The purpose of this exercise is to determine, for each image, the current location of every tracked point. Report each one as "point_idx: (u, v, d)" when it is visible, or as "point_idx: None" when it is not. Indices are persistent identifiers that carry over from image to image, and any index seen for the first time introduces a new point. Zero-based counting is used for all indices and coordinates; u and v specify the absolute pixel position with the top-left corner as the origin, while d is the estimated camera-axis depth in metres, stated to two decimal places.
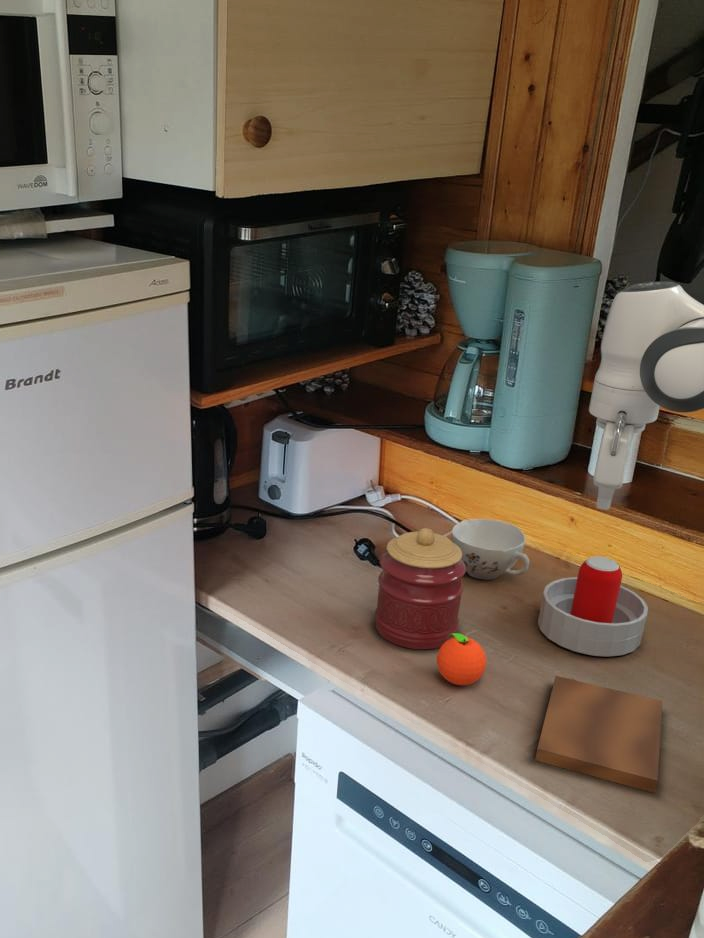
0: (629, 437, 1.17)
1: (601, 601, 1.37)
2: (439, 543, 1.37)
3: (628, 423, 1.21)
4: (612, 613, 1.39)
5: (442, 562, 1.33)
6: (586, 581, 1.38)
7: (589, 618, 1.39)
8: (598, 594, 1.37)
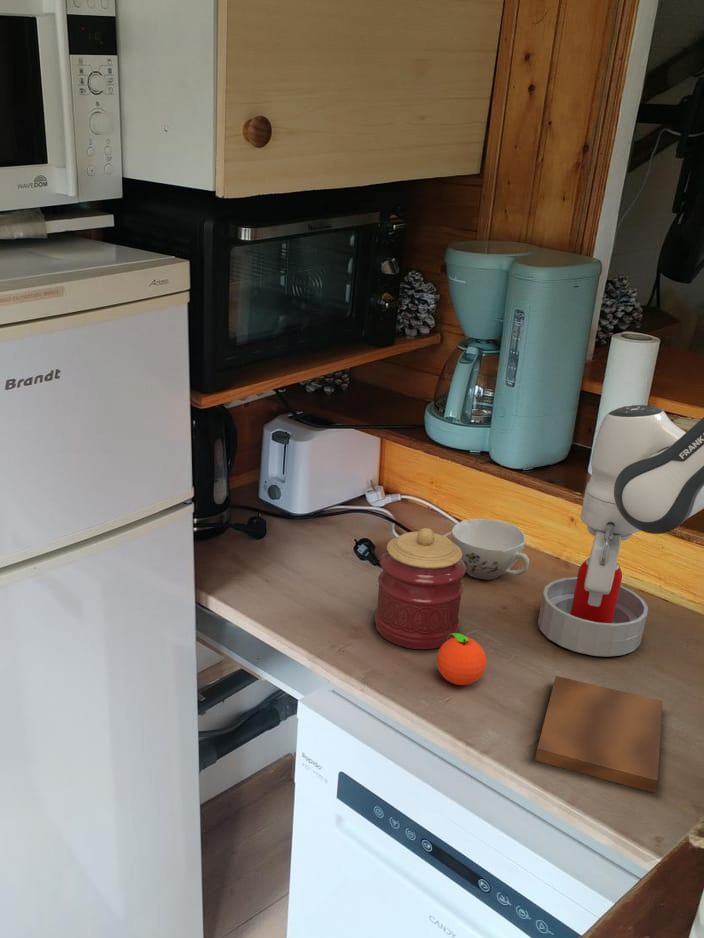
0: (617, 549, 1.28)
1: None
2: (440, 543, 1.37)
3: (616, 533, 1.31)
4: (612, 613, 1.39)
5: (442, 562, 1.33)
6: None
7: (589, 618, 1.39)
8: None
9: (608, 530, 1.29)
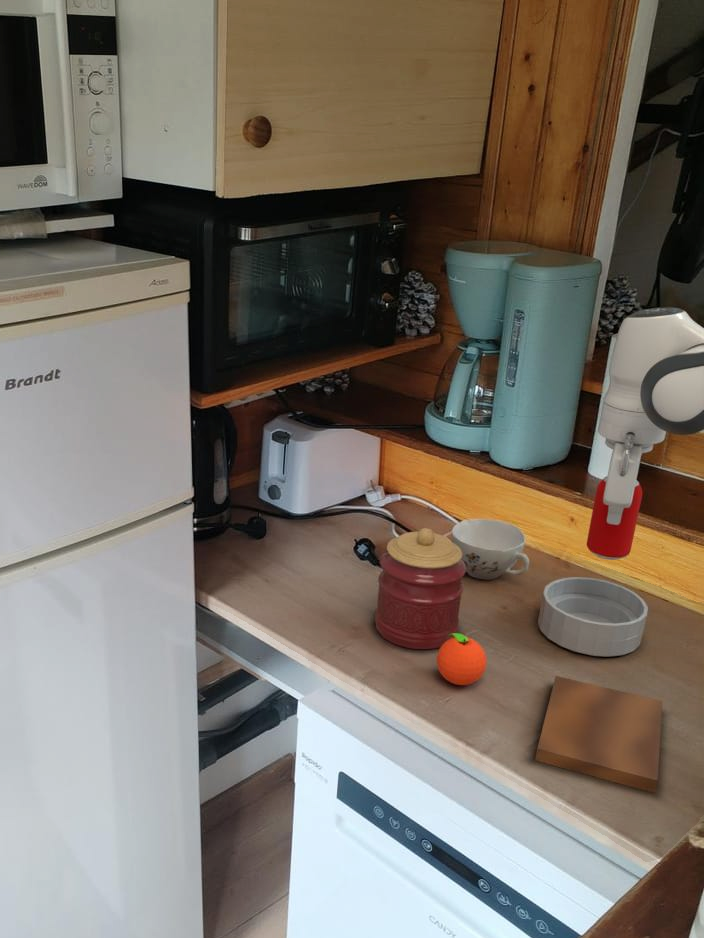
0: (637, 458, 1.21)
1: (620, 520, 1.31)
2: (440, 543, 1.37)
3: (636, 444, 1.25)
4: (632, 533, 1.33)
5: (442, 562, 1.33)
6: None
7: (608, 539, 1.33)
8: None
9: (628, 439, 1.22)
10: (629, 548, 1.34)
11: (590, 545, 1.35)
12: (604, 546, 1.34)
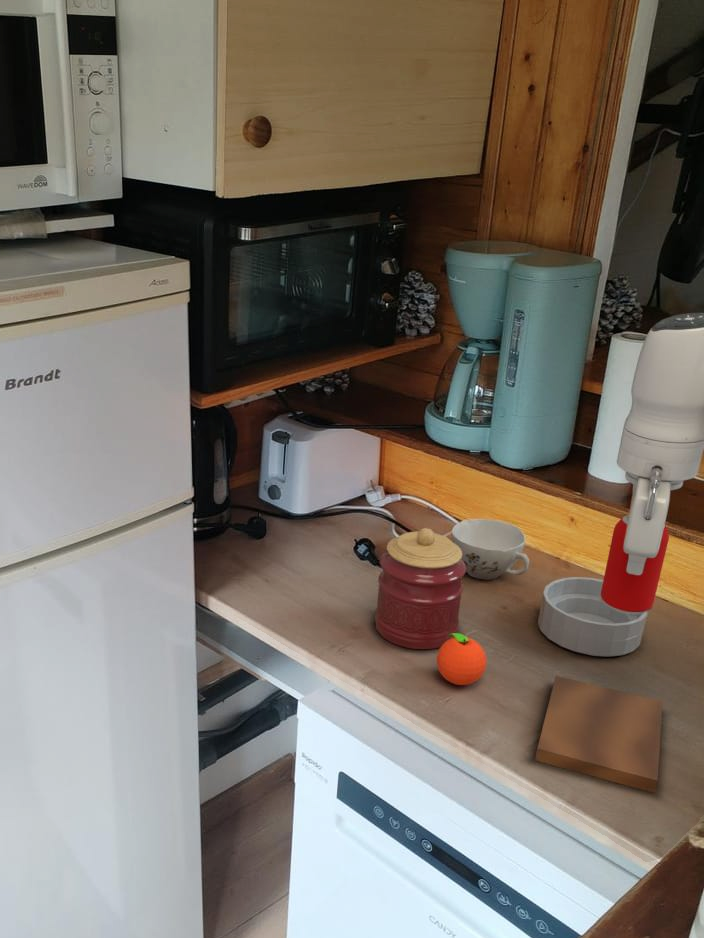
0: (666, 498, 0.99)
1: None
2: (440, 543, 1.37)
3: (664, 480, 1.03)
4: (656, 584, 1.11)
5: (442, 562, 1.33)
6: (623, 544, 1.09)
7: (627, 590, 1.11)
8: None
9: (655, 475, 1.00)
10: (652, 601, 1.12)
11: (605, 596, 1.14)
12: (622, 599, 1.12)
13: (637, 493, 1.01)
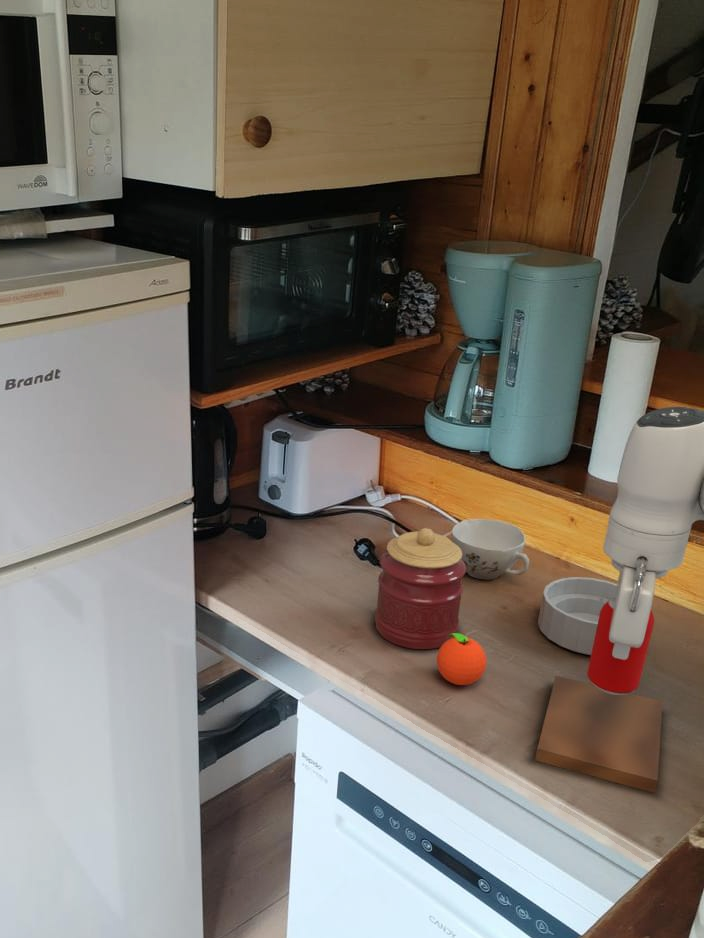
0: (651, 591, 1.01)
1: None
2: (440, 543, 1.37)
3: (649, 570, 1.04)
4: (641, 666, 1.12)
5: (442, 562, 1.33)
6: (609, 628, 1.11)
7: (613, 672, 1.12)
8: None
9: (640, 567, 1.02)
10: (638, 682, 1.14)
11: (592, 676, 1.15)
12: (608, 680, 1.13)
13: (622, 585, 1.02)
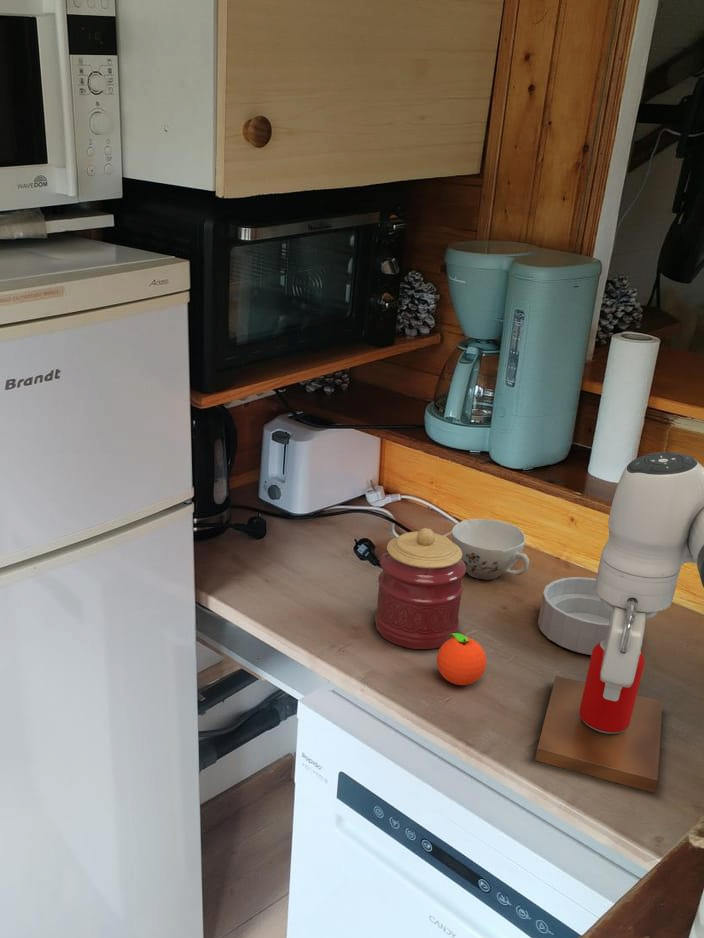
0: (641, 633, 1.03)
1: None
2: (440, 543, 1.37)
3: (639, 611, 1.07)
4: (632, 706, 1.15)
5: (442, 562, 1.33)
6: (600, 669, 1.13)
7: (604, 712, 1.15)
8: None
9: (630, 609, 1.04)
10: (628, 721, 1.16)
11: (584, 715, 1.18)
12: (600, 720, 1.16)
13: (613, 626, 1.04)
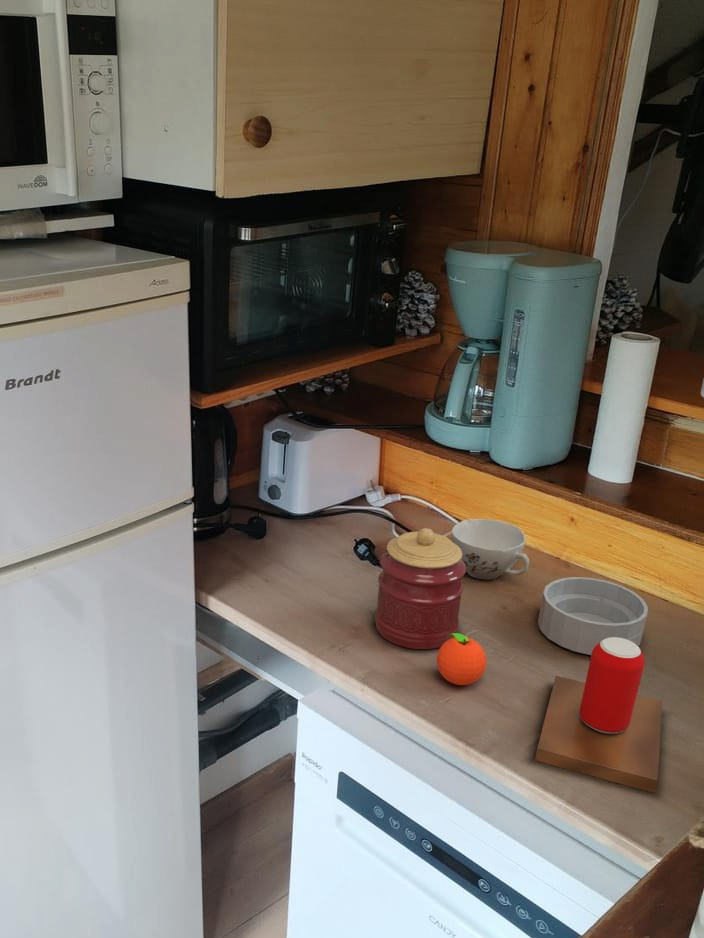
0: None
1: (618, 693, 1.13)
2: (440, 543, 1.37)
3: None
4: (632, 706, 1.15)
5: (442, 562, 1.33)
6: (600, 669, 1.13)
7: (604, 712, 1.15)
8: (615, 685, 1.13)
9: None
10: (628, 721, 1.16)
11: (584, 715, 1.18)
12: (600, 720, 1.16)
13: None
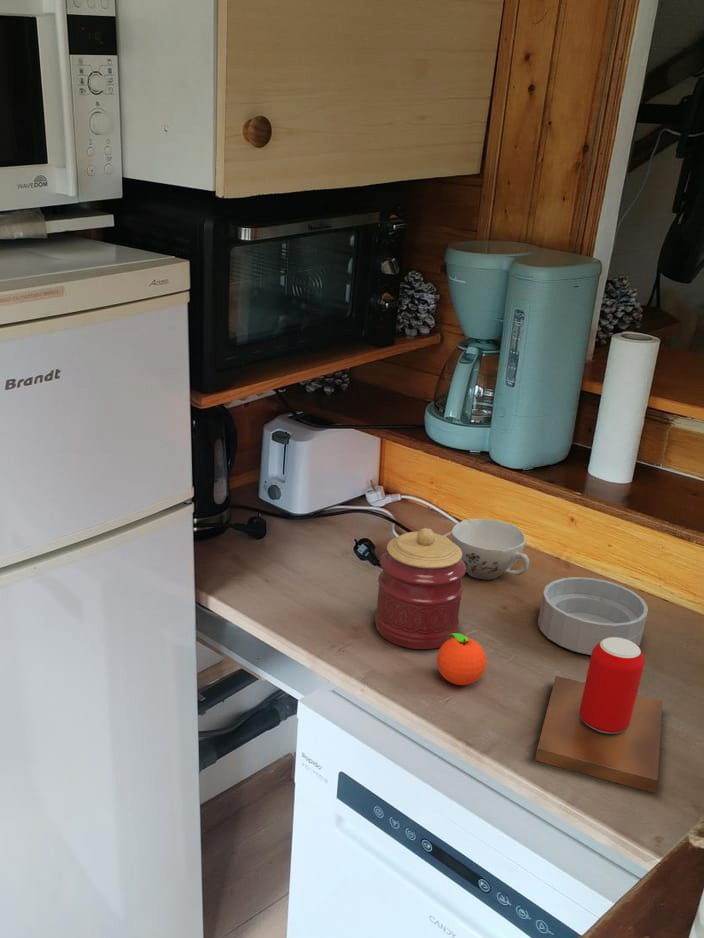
0: None
1: (618, 693, 1.13)
2: (440, 543, 1.37)
3: None
4: (632, 706, 1.15)
5: (442, 562, 1.33)
6: (600, 669, 1.13)
7: (604, 712, 1.15)
8: (615, 685, 1.13)
9: None
10: (628, 721, 1.16)
11: (584, 715, 1.18)
12: (600, 720, 1.16)
13: None
